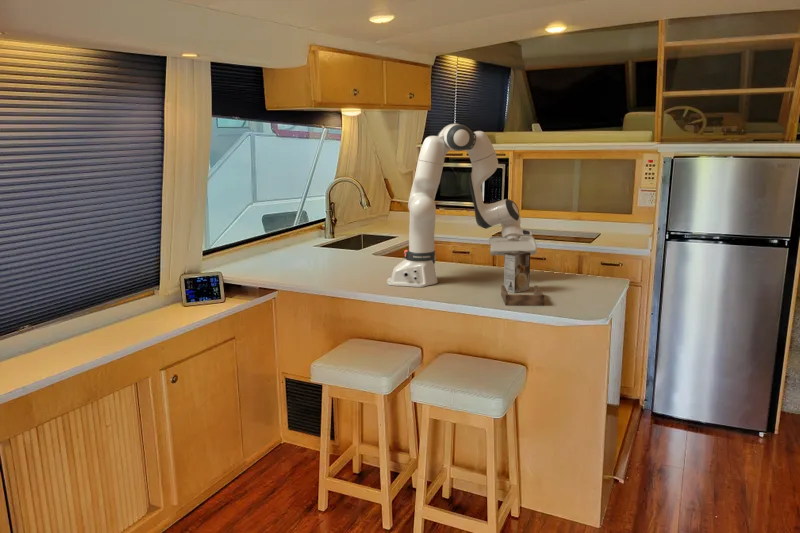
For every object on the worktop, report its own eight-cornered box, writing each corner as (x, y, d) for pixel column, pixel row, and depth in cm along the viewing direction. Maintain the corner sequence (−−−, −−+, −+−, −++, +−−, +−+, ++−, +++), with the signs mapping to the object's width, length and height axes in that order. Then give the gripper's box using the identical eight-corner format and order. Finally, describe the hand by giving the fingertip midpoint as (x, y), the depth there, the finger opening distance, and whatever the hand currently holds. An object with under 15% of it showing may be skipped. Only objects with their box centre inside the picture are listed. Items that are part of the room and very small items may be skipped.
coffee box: (518, 287, 250) (519, 250, 247) (529, 289, 245) (531, 252, 242) (503, 290, 245) (504, 252, 242) (514, 293, 240) (515, 255, 237)
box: (505, 305, 223) (505, 295, 222) (501, 294, 238) (501, 285, 237) (543, 305, 222) (544, 295, 221) (536, 295, 237) (537, 285, 236)
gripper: (489, 232, 260) (490, 258, 252) (535, 231, 258) (539, 257, 251) (488, 240, 265) (489, 266, 258) (533, 239, 264) (537, 265, 256)
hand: (514, 262), depth 254 cm, fingers closed
